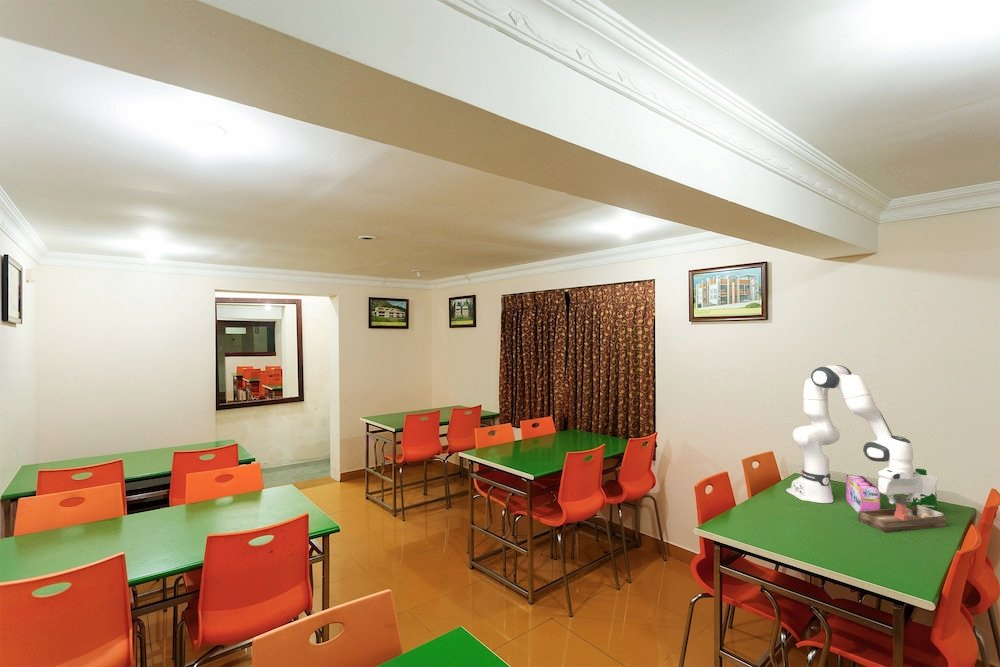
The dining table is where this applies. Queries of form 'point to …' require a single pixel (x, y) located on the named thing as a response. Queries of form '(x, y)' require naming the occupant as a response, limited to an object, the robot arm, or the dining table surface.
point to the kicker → (901, 508)
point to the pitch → (889, 523)
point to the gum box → (862, 494)
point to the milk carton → (926, 491)
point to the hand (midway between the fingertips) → (900, 502)
